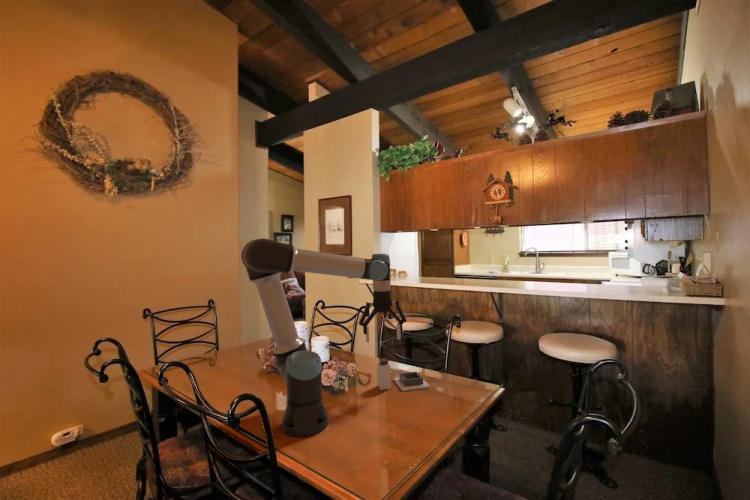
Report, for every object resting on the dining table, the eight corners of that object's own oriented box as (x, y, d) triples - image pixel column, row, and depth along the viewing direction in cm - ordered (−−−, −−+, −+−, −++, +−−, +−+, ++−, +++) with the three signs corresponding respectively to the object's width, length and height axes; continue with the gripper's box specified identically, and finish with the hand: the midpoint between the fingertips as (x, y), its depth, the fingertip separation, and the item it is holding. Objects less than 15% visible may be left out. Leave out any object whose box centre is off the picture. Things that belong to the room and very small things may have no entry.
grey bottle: (380, 390, 139) (379, 362, 139) (377, 385, 144) (377, 358, 144) (390, 388, 140) (390, 361, 140) (387, 384, 145) (387, 357, 145)
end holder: (402, 391, 138) (401, 382, 138) (393, 380, 149) (393, 372, 149) (429, 387, 140) (429, 379, 140) (419, 377, 152) (419, 369, 152)
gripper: (354, 293, 136) (355, 345, 136) (412, 289, 141) (414, 340, 141) (351, 290, 143) (352, 340, 143) (407, 287, 148) (408, 335, 148)
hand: (383, 340), depth 142 cm, fingers open, 13 cm apart
